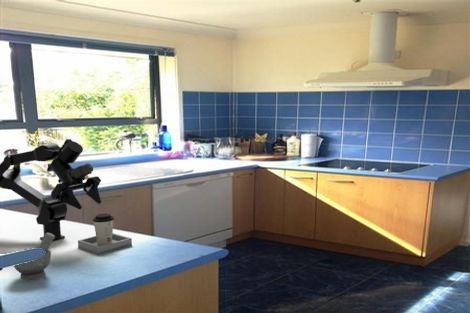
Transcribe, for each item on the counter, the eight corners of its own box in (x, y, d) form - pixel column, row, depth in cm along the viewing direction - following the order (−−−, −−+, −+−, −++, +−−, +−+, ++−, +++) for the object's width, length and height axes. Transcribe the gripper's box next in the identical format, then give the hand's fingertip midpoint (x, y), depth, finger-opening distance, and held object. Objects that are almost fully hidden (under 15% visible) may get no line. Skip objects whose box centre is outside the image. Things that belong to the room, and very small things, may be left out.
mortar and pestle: (12, 285, 117) (9, 241, 116) (13, 274, 126) (10, 233, 125) (58, 278, 122) (55, 236, 121) (56, 267, 130) (54, 228, 129)
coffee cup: (116, 245, 148) (114, 216, 147) (94, 248, 146) (92, 218, 145) (114, 240, 155) (113, 212, 154) (93, 242, 153) (92, 214, 151)
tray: (78, 247, 150) (77, 240, 149) (110, 239, 159) (109, 232, 159) (99, 255, 142) (99, 247, 141) (131, 245, 151) (131, 238, 151)
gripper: (54, 159, 144) (82, 195, 140) (95, 154, 161) (121, 185, 157) (39, 182, 148) (65, 217, 144) (80, 174, 165) (105, 206, 161)
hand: (90, 205), depth 152 cm, fingers open, 9 cm apart
